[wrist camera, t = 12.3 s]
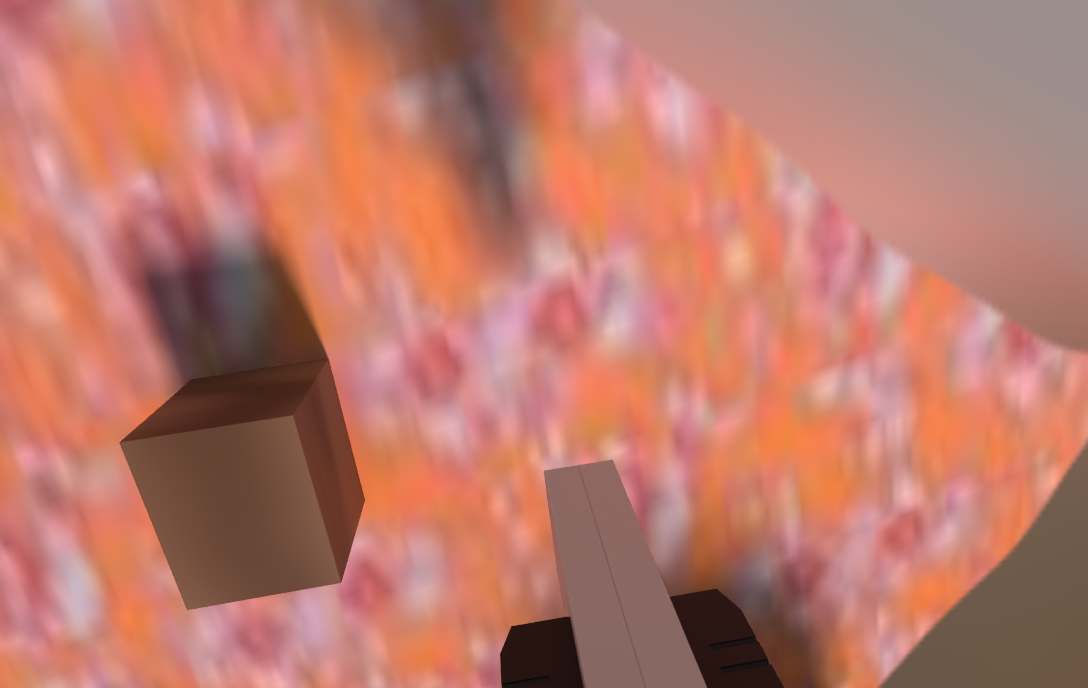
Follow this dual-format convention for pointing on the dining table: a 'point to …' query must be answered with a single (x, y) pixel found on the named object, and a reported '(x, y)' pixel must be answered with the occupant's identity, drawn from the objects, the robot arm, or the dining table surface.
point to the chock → (250, 483)
